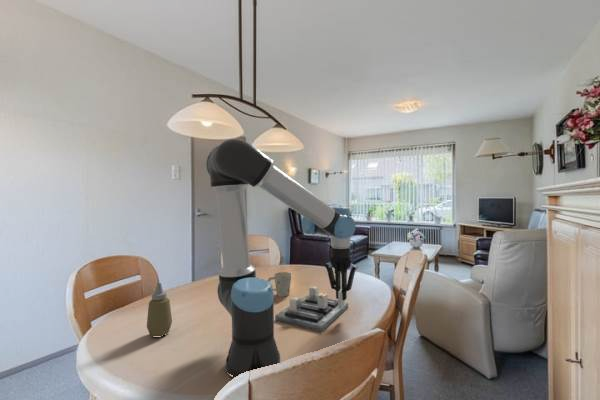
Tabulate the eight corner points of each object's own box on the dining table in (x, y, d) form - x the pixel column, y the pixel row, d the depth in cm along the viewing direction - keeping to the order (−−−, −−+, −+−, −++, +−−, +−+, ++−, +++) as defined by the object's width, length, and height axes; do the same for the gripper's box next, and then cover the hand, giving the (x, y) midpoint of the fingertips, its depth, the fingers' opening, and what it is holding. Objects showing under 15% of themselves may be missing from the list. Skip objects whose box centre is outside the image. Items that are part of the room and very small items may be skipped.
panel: (322, 331, 103) (321, 309, 102) (275, 320, 113) (275, 299, 112) (348, 307, 125) (348, 288, 125) (307, 299, 135) (307, 282, 135)
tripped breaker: (324, 309, 115) (324, 296, 115) (317, 307, 116) (317, 294, 116) (327, 306, 117) (327, 293, 117) (320, 305, 119) (320, 292, 119)
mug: (289, 298, 138) (289, 276, 138) (263, 296, 140) (263, 275, 140) (293, 292, 146) (293, 272, 146) (269, 291, 148) (269, 271, 148)
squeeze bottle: (165, 327, 108) (165, 278, 107) (176, 333, 102) (176, 282, 102) (142, 335, 101) (141, 283, 101) (153, 342, 96) (152, 288, 96)
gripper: (359, 246, 113) (360, 307, 113) (329, 244, 119) (330, 301, 119) (353, 249, 106) (354, 314, 106) (321, 247, 113) (322, 307, 113)
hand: (341, 307), depth 113 cm, fingers closed
